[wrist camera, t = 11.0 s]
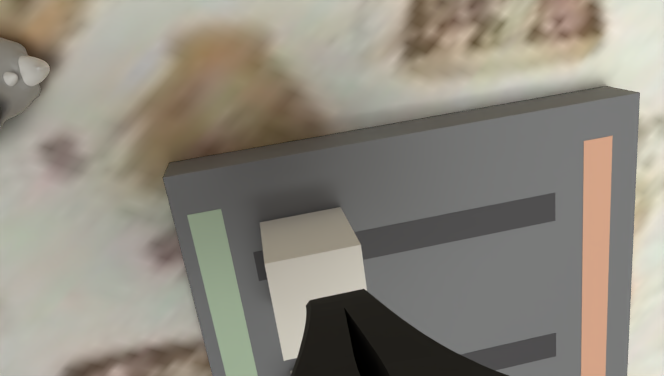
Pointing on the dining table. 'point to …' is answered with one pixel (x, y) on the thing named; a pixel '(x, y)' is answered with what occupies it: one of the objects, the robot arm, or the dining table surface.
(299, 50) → the dining table surface
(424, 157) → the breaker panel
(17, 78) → the chubby cartoon animal
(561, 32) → the dining table surface
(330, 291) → the handle
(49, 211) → the dining table surface
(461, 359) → the robot arm
